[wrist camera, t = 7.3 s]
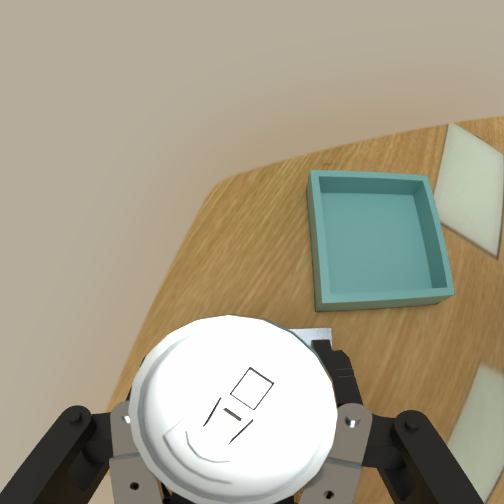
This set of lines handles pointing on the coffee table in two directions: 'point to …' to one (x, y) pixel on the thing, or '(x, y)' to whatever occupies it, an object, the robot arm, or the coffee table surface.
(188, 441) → the beer can
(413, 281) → the tray
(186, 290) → the coffee table surface
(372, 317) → the coffee table surface
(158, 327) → the coffee table surface
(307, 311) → the coffee table surface
